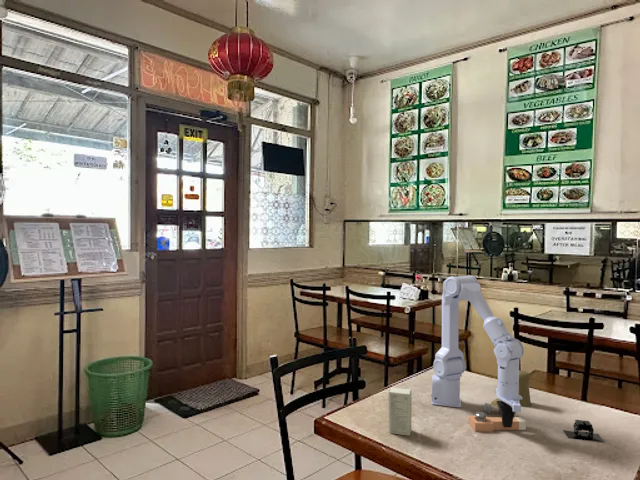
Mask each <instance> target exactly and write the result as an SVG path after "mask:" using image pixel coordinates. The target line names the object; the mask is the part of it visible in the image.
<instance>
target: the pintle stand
mask: <svg viewBox="0 0 640 480" xmlns="http://www.w3.org/2000/svg"><path fill="white" fill-rule="evenodd" d="M496 401H501V400H500V399H498V398H497V397H496V399H494V400H492V401H491V402H490V403H486V402H485V403H484V404H483V411H482V412H481V411H476V412H475V413H474V416H476V417H477V421H478V422H484V418H486V417H488V416H487V415H491V414H492V412H493V411H492V410H493V409H492V408H493V407H496V408H499V407H498V405H497V403H496ZM492 406H493V407H492ZM498 414H500V415H501V413H500V410H499V409H498Z"/></svg>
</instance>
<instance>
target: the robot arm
mask: <svg viewBox="0 0 640 480" xmlns="http://www.w3.org/2000/svg"><path fill="white" fill-rule="evenodd" d="M442 285H443V286H442V287H443V288H442V289H443V290H442V294H441V347H440V349H439V350H438V351H437V352H436V353H435V355H434V356H435V357H434V358H435V359H434V361H433V364H432V365H433V367H432V368H433V372H434V374H432V378H431V379H432V380H431V391H430V397H431V404H432V405H434V406H435V405H436V406H443V407H444V406H445V407H452V408H462V402H461V401H462V400H461V396H460V395H461V393H460V392H461V377H462V376H463V375H462V374H464V372H465V371H466V362H465V359H464V358H465V357H464V353H463V352H462V351H461V349H459V321H460V320H459V318H460V317H459V315H460V314H459V312H460V311H459V309H460V307H459V303H460V302H462V300H463V301H467V302H469V303H470V304H471V306H472V307H473V308H474V310H475V311H476V312H477V314H478V315H479V316H480V318H481V319H482V320H483V325H482V328H483V329H484V331H485V333H486V334H487V336H488V337H489V339H490V341H491V343H492V344H493V346H494V348H493V353H494V356H495V357H496V364H497V386H496V387H495V394H496V399H497V398H498V399H500V400H501V401H496V403H497V405H498V407H497V408H498V411H499V410H500V413H501V414H500V417H502V424H503V426H504V427H509V428H511V427H512V423H513V418H514V417H515V416H516V413H521V412H522V406H521V405H520V403H519V400H522V396H521V395H518V391H519V370H520V359H521V358H522V357H524V352H525V351H524V346H523V344H522V342H521V341H520V340H519V339H517V338H515V337H514V336H513V335H512V334H511V333H510V331H509V330H508V328H507V327H506V325H505V322H504V321H503V320H502V319H501V318H500V317H498V316H495V315H494V313H493V312H492V310H491V308H490V306H489V304H488V302H487V301H486V299H485V297H484V295H483V293H482V291H481V289H482V287H481V286H482V285H481V283H479V281H478V279H477V278H476V277H475V276H474V275H470V274H469V275H464V276H463V275H462V276H452V275H451V276H449V277H447V278H446V279H445V280H443V283H442Z"/></svg>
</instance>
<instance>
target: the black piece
mask: <svg viewBox="0 0 640 480" xmlns="http://www.w3.org/2000/svg"><path fill="white" fill-rule="evenodd" d="M572 426H573V430H565V429H562V431H563V433H564V434H565V436H566V437H567V439H570V440H577V441H580V440H581V441H586V442H596V443H604V442H605V440H604V439H603V438H602V437H601V435H600V434H599V433H594V431H595V430H594V427H593V424H592V423H591V422H590V421H589V420H581V419H575V420H574V422H573V425H572Z"/></svg>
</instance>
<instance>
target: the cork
mask: <svg viewBox="0 0 640 480" xmlns="http://www.w3.org/2000/svg"><path fill="white" fill-rule="evenodd" d="M530 381H531V375H530V373H529V372H528V371H526V370H520V369H519V391H518V395H521V396H522V400H519V403H520V405H521V407H526V408H527V407H531V405H532V403H531V394H530V385H529V382H530Z"/></svg>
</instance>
